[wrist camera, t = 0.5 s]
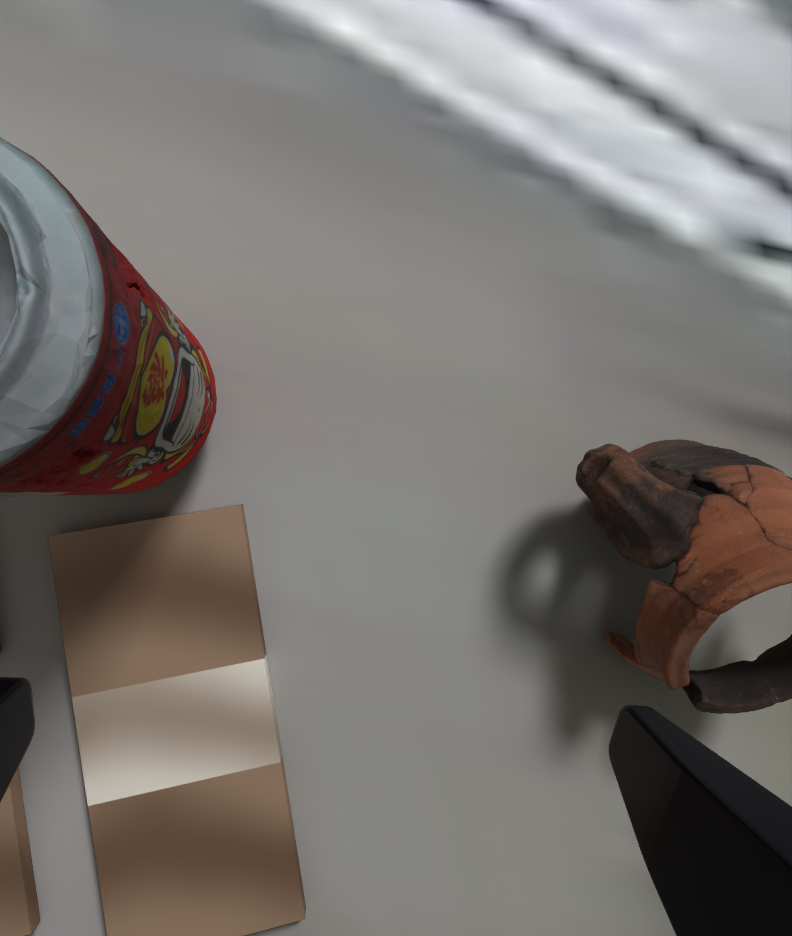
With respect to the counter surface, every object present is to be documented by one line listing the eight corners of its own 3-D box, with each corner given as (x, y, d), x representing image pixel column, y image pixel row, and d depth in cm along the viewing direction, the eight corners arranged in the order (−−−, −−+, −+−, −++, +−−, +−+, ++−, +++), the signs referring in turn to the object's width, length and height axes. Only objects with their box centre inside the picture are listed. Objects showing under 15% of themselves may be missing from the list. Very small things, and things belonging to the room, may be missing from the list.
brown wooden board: (305, 906, 20) (305, 918, 20) (118, 956, 20) (112, 971, 19) (242, 504, 21) (240, 504, 20) (56, 534, 20) (48, 536, 19)
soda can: (221, 499, 21) (64, 511, 9) (30, 488, 20) (-448, 484, 8) (234, 324, 21) (101, 97, 9) (47, 306, 20) (-382, 28, 8)
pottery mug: (781, 480, 25) (967, 604, 17) (636, 612, 28) (741, 762, 21) (607, 342, 20) (757, 428, 13) (460, 516, 24) (516, 662, 16)
